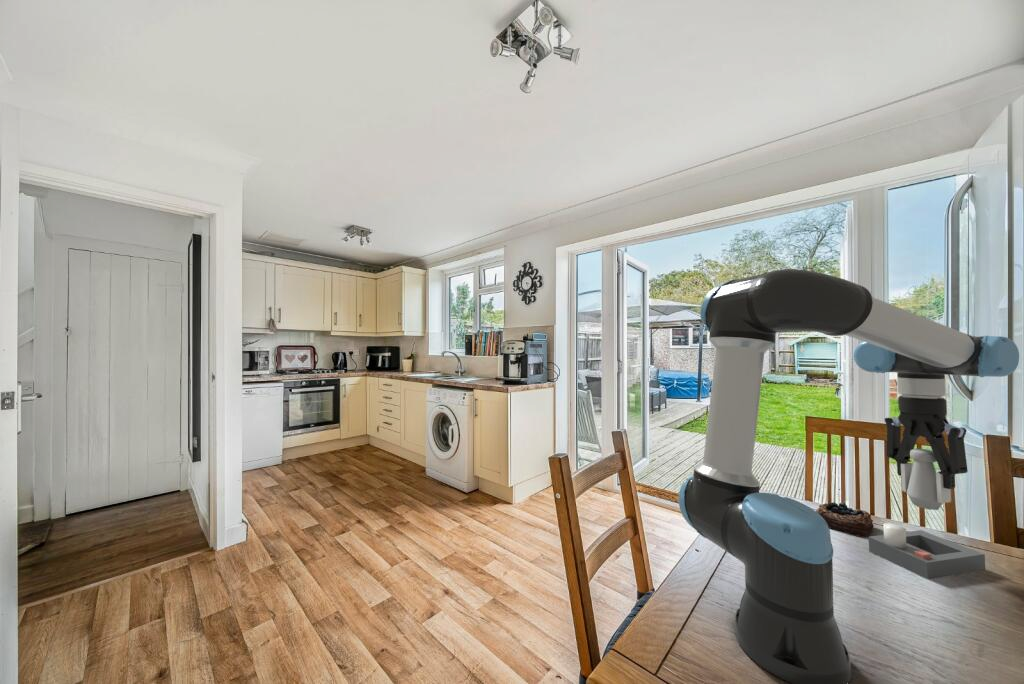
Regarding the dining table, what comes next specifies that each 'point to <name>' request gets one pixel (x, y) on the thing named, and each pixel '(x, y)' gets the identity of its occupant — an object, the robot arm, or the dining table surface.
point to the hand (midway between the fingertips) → (925, 496)
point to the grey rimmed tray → (925, 553)
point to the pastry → (846, 519)
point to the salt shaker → (923, 480)
